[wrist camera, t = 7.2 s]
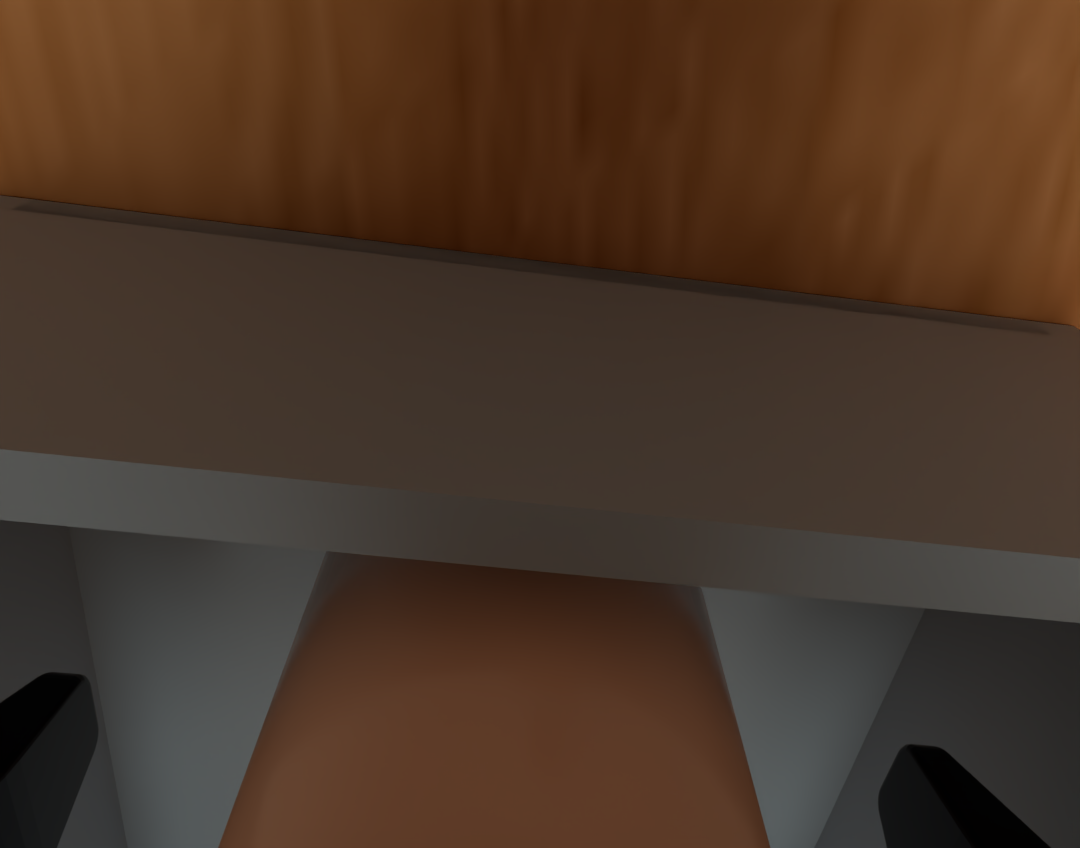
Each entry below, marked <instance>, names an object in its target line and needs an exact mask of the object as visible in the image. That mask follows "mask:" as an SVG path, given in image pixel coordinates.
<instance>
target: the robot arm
mask: <svg viewBox="0 0 1080 848" xmlns="http://www.w3.org/2000/svg"><path fill="white" fill-rule="evenodd" d="M98 735H99V726H98V720H97V715H96V709H95V704H94V699H93V693H92V688H91V684H90V681H89V679H88V678H87V677H86V676H85V675H82V674H73V673H61V672H48V673H45V674H42V675H40V676H38V677H37V678H35V679H34V680H32V681H31V682H29V683H28V684H26V685H25V686H23V687H22V688H21V689H19V690H18V691H16V692H15V693H13V694H12V695H10V696H9V697H8V698H6V699H5V700H3V701H2V702H0V848H57V847H58V845H59V842H60V839H61V837H62V834H63V832H64V829H65V827H66V824H67V821H68V819H69V816H70V814H71V811H72V808H73V806H74V803H75V801H76V798H77V796H78V793H79V790H80V788H81V785H82V783H83V780H84V778H85V775H86V772H87V770H88V767H89V765H90V762H91V760H92V757H93V754H94V752H95V749H96V745H97V741H98ZM878 810H879V816H880V820H881V825H882V829H883V834H884V838H885V843H886V847H887V848H1051V847H1050V846H1049V845H1048V844H1047V843H1046V842H1044V841H1043V840H1042V839H1041V838H1040V837H1039V836H1038V835H1037V834H1036V833H1035V832H1034V831H1033V830H1031V829H1030V828H1029V827H1028V826H1027V825H1026V824H1025V823H1024V822H1023V821H1022V820H1021V819H1019V818H1018V817H1017V816H1016V815H1015V814H1014V813H1013V812H1012V811H1011V810H1010V809H1009V808H1008V807H1006V806H1005V805H1004V804H1003V803H1002V802H1001V801H1000V800H999V799H998V798H997V797H996V796H995V795H993V794H992V793H991V792H990V791H989V790H988V789H987V788H986V787H985V786H984V785H983V784H981V783H980V782H979V781H978V780H977V779H976V778H975V777H974V776H973V775H972V774H971V773H970V772H968V771H967V770H966V769H965V768H964V767H963V766H962V765H961V764H960V763H959V762H958V761H957V760H955V759H954V758H953V757H952V756H951V755H950V754H949V753H948V752H946V751H945V750H943V749H942V748H940V747H937V746H929V745H917V744H906V745H904V746H903V747H902V748H900V750H899V751H898V753H897V755H896V757H895V759H894V761H893V763H892V765H891V767H890V769H889V771H888V773H887V775H886V777H885V779H884V781H883V783H882V785H881V787H880V790H879V795H878Z"/></svg>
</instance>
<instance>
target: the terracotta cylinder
mask: <svg viewBox="0 0 1080 848" xmlns="http://www.w3.org/2000/svg"><path fill="white" fill-rule="evenodd" d="M218 848H770V844H769V840H768V837H767V833H766V829H765V825H764V821H763V818H762V814H761V810H760V806H759V803H758V799H757V795H756V791H755V788H754V784H753V780H752V776H751V772H750V769H749V765H748V761H747V757H746V754H745V750H744V746H743V742H742V739H741V735H740V731H739V727H738V723H737V720H736V716H735V712H734V708H733V705H732V701H731V697H730V693H729V690H728V686H727V682H726V678H725V674H724V671H723V667H722V663H721V659H720V656H719V652H718V648H717V644H716V641H715V637H714V633H713V629H712V625H711V622H710V618H709V614H708V610H707V607H706V603H705V599H704V595H703V592H702V588H701V587H697V586H687V585H676V584H666V583H655V582H645V581H634V580H624V579H613V578H603V577H593V576H582V575H572V574H561V573H551V572H540V571H530V570H519V569H509V568H498V567H488V566H477V565H467V564H456V563H446V562H436V561H425V560H415V559H404V558H394V557H383V556H373V555H362V554H352V553H341V552H331V551H326V553H325V556H324V558H323V561H322V564H321V567H320V569H319V572H318V575H317V578H316V580H315V583H314V586H313V589H312V591H311V594H310V597H309V600H308V602H307V605H306V608H305V611H304V613H303V616H302V619H301V622H300V624H299V627H298V630H297V633H296V635H295V638H294V641H293V643H292V646H291V649H290V652H289V654H288V657H287V660H286V663H285V665H284V668H283V671H282V674H281V676H280V679H279V682H278V685H277V687H276V690H275V693H274V696H273V698H272V701H271V704H270V707H269V709H268V712H267V715H266V718H265V720H264V723H263V726H262V729H261V731H260V734H259V737H258V740H257V742H256V745H255V748H254V751H253V753H252V756H251V759H250V762H249V764H248V767H247V770H246V773H245V775H244V778H243V781H242V783H241V786H240V789H239V792H238V794H237V797H236V800H235V803H234V805H233V808H232V811H231V814H230V816H229V819H228V822H227V825H226V827H225V830H224V833H223V836H222V838H221V841H220V844H219V847H218Z"/></svg>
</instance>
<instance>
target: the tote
mask: <svg viewBox="0 0 1080 848" xmlns="http://www.w3.org/2000/svg"><path fill="white" fill-rule="evenodd" d="M326 551H331V552H341V553H352V554H362V555H373V556H383V557H394V558H404V559H415V560H425V561H436V562H446V563H456V564H467V565H477V566H488V567H498V568H509V569H519V570H530V571H540V572H551V573H561V574H572V575H582V576H593V577H603V578H613V579H624V580H634V581H645V582H655V583H666V584H676V585H687V586H697V587H701V588H702V592H703V595H704V599H705V603H706V607H707V610H708V614H709V618H710V622H711V625H712V629H713V633H714V637H715V641H716V644H717V648H718V652H719V656H720V659H721V663H722V667H723V671H724V674H725V678H726V682H727V686H728V690H729V693H730V697H731V701H732V705H733V708H734V712H735V716H736V720H737V723H738V727H739V731H740V735H741V739H742V742H743V746H744V750H745V754H746V757H747V761H748V765H749V769H750V772H751V776H752V780H753V784H754V788H755V791H756V795H757V799H758V803H759V806H760V810H761V814H762V818H763V821H764V825H765V829H766V833H767V837H768V840H769V844H770V848H887V847H886V843H885V838H884V834H883V829H882V825H881V820H880V816H879V810H878V795H879V790H880V787H881V785H882V783H883V781H884V779H885V777H886V775H887V773H888V771H889V769H890V767H891V765H892V763H893V761H894V759H895V757H896V755H897V753H898V751H899V750H900V748H902V747H903V746H904V745H906V744H917V745H929V746H937V747H940V748H942V749H943V750H945V751H946V752H948V753H949V754H950V755H951V756H952V757H953V758H954V759H955V760H957V761H958V762H959V763H960V764H961V765H962V766H963V767H964V768H965V769H966V770H967V771H968V772H970V773H971V774H972V775H973V776H974V777H975V778H976V779H977V780H978V781H979V782H980V783H981V784H983V785H984V786H985V787H986V788H987V789H988V790H989V791H990V792H991V793H992V794H993V795H995V796H996V797H997V798H998V799H999V800H1000V801H1001V802H1002V803H1003V804H1004V805H1005V806H1006V807H1008V808H1009V809H1010V810H1011V811H1012V812H1013V813H1014V814H1015V815H1016V816H1017V817H1018V818H1019V819H1021V820H1022V821H1023V822H1024V823H1025V824H1026V825H1027V826H1028V827H1029V828H1030V829H1031V830H1033V831H1034V832H1035V833H1036V834H1037V835H1038V836H1039V837H1040V838H1041V839H1042V840H1043V841H1044V842H1046V843H1047V844H1048V845H1049V846H1050V847H1051V848H1080V330H1079V329H1078V328H1076V327H1074V326H1069V325H1060V324H1052V323H1044V322H1036V321H1028V320H1019V319H1011V318H1003V317H995V316H987V315H978V314H970V313H962V312H954V311H945V310H937V309H929V308H921V307H913V306H904V305H896V304H888V303H880V302H872V301H863V300H855V299H847V298H839V297H831V296H822V295H814V294H806V293H798V292H789V291H781V290H773V289H765V288H757V287H748V286H740V285H732V284H724V283H716V282H707V281H699V280H691V279H683V278H675V277H666V276H658V275H650V274H642V273H634V272H625V271H617V270H609V269H601V268H592V267H584V266H576V265H568V264H560V263H551V262H543V261H535V260H527V259H519V258H510V257H502V256H494V255H486V254H478V253H469V252H461V251H453V250H445V249H437V248H428V247H420V246H412V245H404V244H395V243H387V242H379V241H371V240H363V239H354V238H346V237H338V236H330V235H322V234H313V233H305V232H297V231H289V230H281V229H272V228H264V227H256V226H248V225H239V224H231V223H223V222H215V221H207V220H198V219H190V218H182V217H174V216H166V215H157V214H149V213H141V212H133V211H125V210H116V209H108V208H100V207H92V206H84V205H75V204H67V203H59V202H51V201H42V200H34V199H26V198H18V197H10V196H1V195H0V702H2V701H3V700H5V699H6V698H8V697H9V696H10V695H12V694H13V693H15V692H16V691H18V690H19V689H21V688H22V687H23V686H25V685H26V684H28V683H29V682H31V681H32V680H34V679H35V678H37V677H38V676H40V675H42V674H45V673H48V672H61V673H73V674H82V675H85V676H86V677H87V678H88V679H89V681H90V684H91V688H92V693H93V699H94V704H95V709H96V715H97V720H98V726H99V735H98V741H97V745H96V749H95V752H94V754H93V757H92V760H91V762H90V765H89V767H88V770H87V772H86V775H85V778H84V780H83V783H82V785H81V788H80V790H79V793H78V796H77V798H76V801H75V803H74V806H73V808H72V811H71V814H70V816H69V819H68V821H67V824H66V827H65V829H64V832H63V834H62V837H61V839H60V842H59V845H58V847H57V848H218V847H219V844H220V841H221V838H222V836H223V833H224V830H225V827H226V825H227V822H228V819H229V816H230V814H231V811H232V808H233V805H234V803H235V800H236V797H237V794H238V792H239V789H240V786H241V783H242V781H243V778H244V775H245V773H246V770H247V767H248V764H249V762H250V759H251V756H252V753H253V751H254V748H255V745H256V742H257V740H258V737H259V734H260V731H261V729H262V726H263V723H264V720H265V718H266V715H267V712H268V709H269V707H270V704H271V701H272V698H273V696H274V693H275V690H276V687H277V685H278V682H279V679H280V676H281V674H282V671H283V668H284V665H285V663H286V660H287V657H288V654H289V652H290V649H291V646H292V643H293V641H294V638H295V635H296V633H297V630H298V627H299V624H300V622H301V619H302V616H303V613H304V611H305V608H306V605H307V602H308V600H309V597H310V594H311V591H312V589H313V586H314V583H315V580H316V578H317V575H318V572H319V569H320V567H321V564H322V561H323V558H324V556H325V553H326Z"/></svg>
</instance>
